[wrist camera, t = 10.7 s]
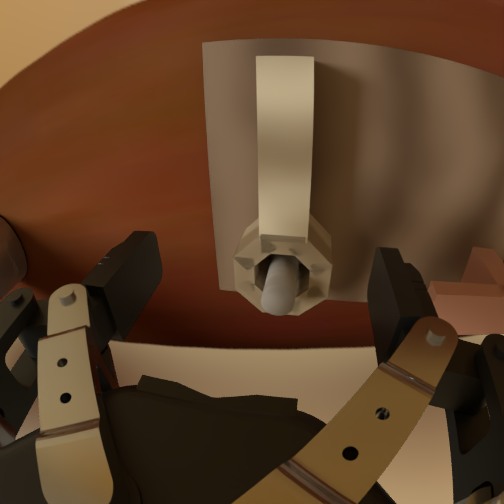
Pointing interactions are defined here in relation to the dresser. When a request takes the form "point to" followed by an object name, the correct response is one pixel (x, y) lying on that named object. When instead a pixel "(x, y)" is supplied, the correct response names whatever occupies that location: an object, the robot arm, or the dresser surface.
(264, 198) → the birch link
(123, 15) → the dresser surface
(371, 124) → the hinge base
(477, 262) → the keeper
